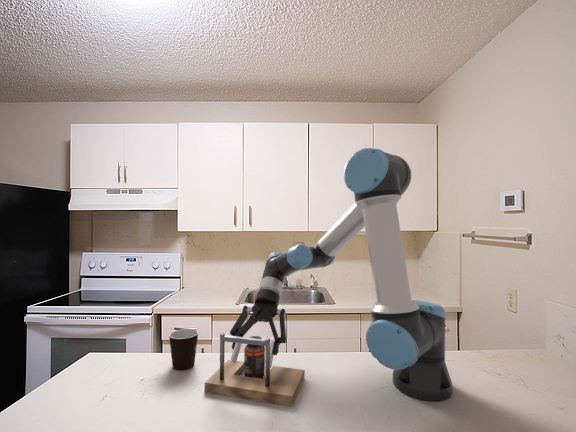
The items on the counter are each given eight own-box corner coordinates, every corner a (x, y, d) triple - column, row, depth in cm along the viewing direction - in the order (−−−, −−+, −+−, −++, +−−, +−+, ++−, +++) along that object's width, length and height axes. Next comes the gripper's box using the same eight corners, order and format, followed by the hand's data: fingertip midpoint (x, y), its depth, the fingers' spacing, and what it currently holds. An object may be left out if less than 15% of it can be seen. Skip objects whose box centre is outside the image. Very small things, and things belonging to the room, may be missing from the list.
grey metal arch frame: (270, 384, 81) (270, 338, 81) (268, 387, 80) (269, 340, 80) (220, 377, 85) (221, 333, 85) (218, 379, 84) (219, 334, 84)
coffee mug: (189, 374, 92) (189, 340, 92) (162, 371, 93) (163, 337, 94) (207, 357, 103) (207, 326, 103) (183, 354, 105) (183, 324, 105)
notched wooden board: (304, 378, 89) (304, 369, 89) (292, 406, 76) (292, 396, 76) (228, 367, 96) (228, 359, 96) (204, 392, 82) (204, 382, 82)
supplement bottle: (268, 375, 91) (269, 336, 91) (258, 385, 86) (258, 343, 86) (251, 371, 94) (251, 333, 94) (239, 380, 88) (240, 340, 89)
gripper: (304, 302, 102) (291, 374, 86) (240, 297, 108) (218, 363, 92) (300, 290, 97) (287, 363, 81) (234, 285, 103) (209, 353, 87)
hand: (250, 363), depth 87 cm, fingers open, 10 cm apart
